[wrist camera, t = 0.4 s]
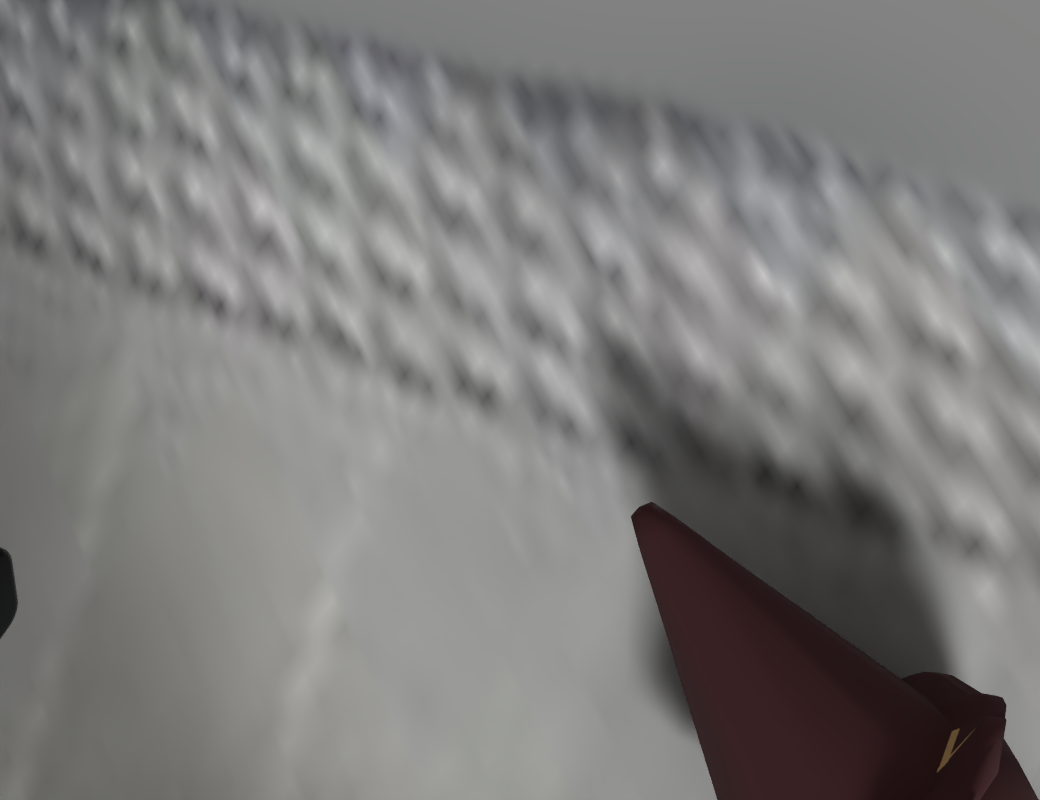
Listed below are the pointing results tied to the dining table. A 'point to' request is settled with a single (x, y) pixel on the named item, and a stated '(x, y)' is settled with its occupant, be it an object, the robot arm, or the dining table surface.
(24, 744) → the dining table surface
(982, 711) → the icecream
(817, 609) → the dining table surface
